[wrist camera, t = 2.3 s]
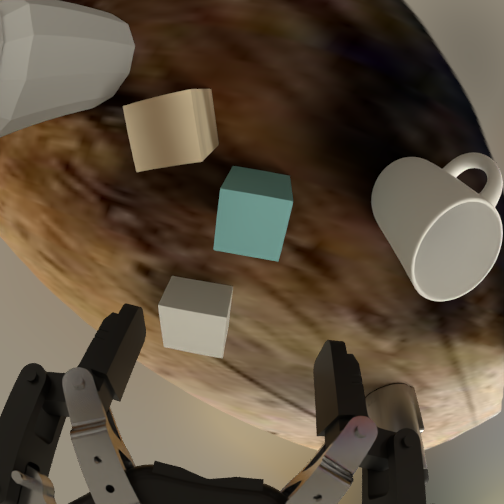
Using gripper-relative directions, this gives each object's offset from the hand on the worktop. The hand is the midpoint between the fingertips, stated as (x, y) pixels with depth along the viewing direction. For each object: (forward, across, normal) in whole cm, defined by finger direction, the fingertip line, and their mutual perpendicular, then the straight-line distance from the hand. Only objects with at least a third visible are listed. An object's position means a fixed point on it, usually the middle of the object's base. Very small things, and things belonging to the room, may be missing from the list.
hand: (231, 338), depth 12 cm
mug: (+16, -15, -5) cm, 23 cm away
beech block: (+16, +7, -6) cm, 19 cm away
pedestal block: (+16, +4, +14) cm, 22 cm away
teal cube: (+16, 0, 0) cm, 16 cm away
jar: (+16, +17, -12) cm, 26 cm away
